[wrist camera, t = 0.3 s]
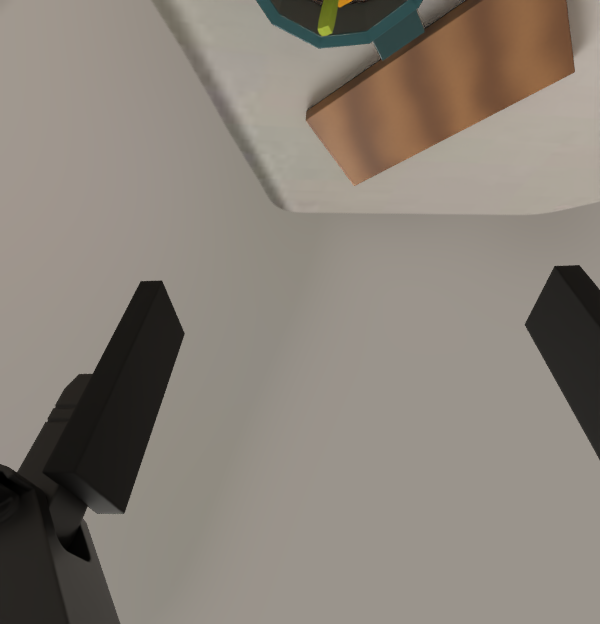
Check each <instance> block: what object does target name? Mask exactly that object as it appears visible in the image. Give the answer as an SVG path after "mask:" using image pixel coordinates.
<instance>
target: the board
mask: <svg viewBox="0 0 600 624" xmlns="http://www.w3.org/2000/svg"><path fill="white" fill-rule="evenodd" d="M574 72H575V68H574V60H573V52H572V43H571V35H570V27H569V19H568V11H567V2H566V0H466V1H465V2H463V3H462V4H461V5H459V6H458V7H456V8H455V9H453V10H452V11H450V12H449V13H448V14H446V15H445V16H443V17H442V18H440V19H439V20H437V21H436V22H435V23H433V24H432V25H430V26H429V27H427V28H426V29H425V32H424V33H423V34H421V35H420V36H418V37H417V38H415V39H414V40H412V41H411V42H410V43H408V44H407V45H405V46H404V47H402V48H401V49H399V50H398V51H396V52H395V53H394V54H392V55H391V56H389V57H388V58H386V59H385V60H383V61H382V59H381V60H380V61H378V62H377V63H375V64H374V65H373V66H371V67H370V68H368V69H367V70H365V71H364V72H362V73H361V74H360V75H358V76H357V77H355V78H354V79H352V80H351V81H349V82H348V83H347V84H345V85H344V86H342V87H341V88H339V89H338V90H336V91H335V92H334V93H332V94H331V95H329V96H328V97H326V98H325V99H323V100H322V101H321V102H319V103H318V104H316V105H315V106H313V107H312V108H310V109H309V110H308V111H307V112H306V121H307V123H308V124H309V125H310V127H311V128H312V129H313V131H314V132H315V134H316V135H317V136H318V138H319V139H320V140H321V142H322V143H323V144H324V146H325V147H326V148H327V150H328V151H329V153H330V154H331V155H332V157H333V158H334V159H335V161H336V162H337V163H338V165H339V166H340V167H341V169H342V170H343V171H344V173H345V174H346V176H347V177H348V178H349V180H350V181H351V182H352V184H353V185H354V186H355V185H357V184H359V183H361V182H363V181H365V180H367V179H369V178H371V177H373V176H375V175H377V174H378V173H380V172H382V171H384V170H386V169H388V168H390V167H392V166H394V165H396V164H398V163H400V162H402V161H404V160H406V159H408V158H409V157H411V156H413V155H415V154H417V153H419V152H421V151H423V150H425V149H427V148H429V147H431V146H433V145H435V144H437V143H438V142H440V141H442V140H444V139H446V138H448V137H450V136H452V135H454V134H456V133H458V132H460V131H462V130H464V129H466V128H468V127H469V126H471V125H473V124H475V123H477V122H479V121H481V120H483V119H485V118H487V117H489V116H491V115H493V114H495V113H497V112H499V111H500V110H502V109H504V108H506V107H508V106H510V105H512V104H514V103H516V102H518V101H520V100H522V99H524V98H526V97H528V96H529V95H531V94H533V93H535V92H537V91H539V90H541V89H543V88H545V87H547V86H549V85H551V84H553V83H555V82H557V81H559V80H560V79H562V78H564V77H566V76H568V75H570V74H572V73H574Z"/></svg>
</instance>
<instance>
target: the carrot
mask: <svg viewBox="0 0 600 624" xmlns="http://www.w3.org/2000/svg"><path fill="white" fill-rule="evenodd" d="M351 1H353V0H323V4H322V8H321V12H320V16H319V21H318V32H319V34H320V35H321V36H327V35H329V34H331V33H332V32H333V29H334V26H335V21H336V15H337V9H338V7H342V6H344V5H345V4H347V3H349V2H351Z"/></svg>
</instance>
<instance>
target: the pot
mask: <svg viewBox="0 0 600 624" xmlns="http://www.w3.org/2000/svg"><path fill="white" fill-rule="evenodd" d="M256 1H257V3H258V4H259V6H260V7H261V9H262V10H263V12H264V13H265V15H266V16H267V18H268V19H269V21H270V22H271V24H273V25H275V26H276V27H278V28H280V29H282V30H284V31H286V32H288V33H290V34H292V35H294V36H295V37H297V38H299V39H301V40H303V41H305V42H307V43H309V44H311V45H313V46H315V47H316V48H318V49H321V48H330V47H340V46H350V45H360V44H370V43H371V42H372V41H373V43H374V45H375V47H376V49H377V51H378V53H379V55H380V57H381V59H382V61H383V60H385V59H386V58H388V57H389V56H391V55H392V54H394V53H395V52H396V51H398V50H399V49H401V48H402V47H404V46H405V45H407V44H408V43H410V42H411V41H412V40H414V39H415V38H417V37H418V36H420V35H421V34H423V33H424V32H425V29H424V25H423V22H422V20H421V17H420V15H419V12H418V10H417V9H418V8H419V6H420V4H421V3H422V1H423V0H367V1H366V2H364V3H355V4H347V5H344V6H342V7H338V9H337V15H336V21H335V26H334V29H333V32H332V33H331V34H329V35H327V36H321V35H320V34H319V32H318V21H319V16H320V12H321V8H322V6H320V5H318V4H317V3H315V2H313V1H311V0H256Z"/></svg>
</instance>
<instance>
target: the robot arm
mask: <svg viewBox="0 0 600 624" xmlns="http://www.w3.org/2000/svg"><path fill="white" fill-rule="evenodd" d="M525 326H526V328H527V330H528V331H529V333H530V335H531V337H532V339H533V340H534V342H535V344H536V346H537V348H538V349H539V351H540V353H541V355H542V357H543V358H544V360H545V362H546V364H547V366H548V367H549V369H550V371H551V373H552V375H553V376H554V378H555V380H556V382H557V384H558V385H559V387H560V389H561V391H562V392H563V394H564V396H565V398H566V400H567V402H568V403H569V405H570V407H571V409H572V411H573V412H574V414H575V416H576V418H577V420H578V421H579V423H580V425H581V427H582V429H583V430H584V432H585V434H586V436H587V437H588V439H589V441H590V443H591V445H592V447H593V448H594V450H595V452H596V454H597V456H598V458H599V459H600V290H599V288H598V287H597V286H596V285H595V283H594V282H593V281H592V280H591V279H590V277H589V276H588V275H587V274H586V273H585V271H584V270H583V269H582V268H581V267H580V266H579V265H575V266H554V269H553V270H552V272H551V275H550V276H549V278H548V280H547V282H546V284H545V286H544V288H543V290H542V292H541V294H540V296H539V298H538V300H537V302H536V304H535V306H534V308H533V310H532V311H531V314H530V315H529V317H528V319H527V321H526V323H525ZM183 337H184V331H183V329H182V326H181V324H180V322H179V319H178V317H177V315H176V312H175V310H174V308H173V305H172V303H171V301H170V299H169V296H168V294H167V291H166V289H165V286H164V284H163V282H162V281H141V282H140V284H139V286H138V288H137V290H136V292H135V294H134V296H133V298H132V299H131V301H130V303H129V305H128V307H127V309H126V311H125V313H124V315H123V317H122V319H121V321H120V323H119V324H118V326H117V328H116V330H115V332H114V334H113V336H112V338H111V340H110V342H109V344H108V346H107V348H106V349H105V351H104V353H103V355H102V357H101V359H100V361H99V363H98V365H97V367H96V369H95V371H94V373H93V374H79V375H78V376H77V377H76V378H75V379H74V380H73V381H72V382H71V383H70V384H69V385H68V386H67V387H66V388H65V389H64V391H63V392H62V394H61V396H60V398H59V400H58V401H57V403H56V407H55V408H54V409H53V410H52V412H51V414H50V416H49V417H48V422H45V424H44V426H43V428H42V429H41V431H40V433H39V435H38V437H37V438H36V440H35V442H34V444H33V446H32V447H31V449H30V451H29V453H28V454H27V456H26V458H25V460H24V461H23V463H22V465H21V467H20V468H19V470H18V472H15V471H14V470H12V469H11V468H9V467H7V466H4V465H1V464H0V624H120V622H119V619H118V616H117V613H116V610H115V607H114V604H113V601H112V598H111V595H110V592H109V589H108V586H107V583H106V580H105V577H104V574H103V571H102V568H101V565H100V562H99V559H98V556H97V553H96V550H95V547H94V544H93V542H92V538H91V535H90V533H89V529H88V527H87V523H86V522H85V521H84V519H83V516H84V514H85V511H86V509H87V506H88V507H89V508H90V509H92V510H93V511H95V512H96V513H97V514H100V513H101V514H124V513H125V510H126V507H127V504H128V501H129V498H130V495H131V492H132V489H133V486H134V483H135V480H136V477H137V474H138V471H139V468H140V465H141V462H142V459H143V456H144V453H145V450H146V447H147V444H148V441H149V438H150V435H151V432H152V429H153V426H154V423H155V420H156V417H157V414H158V411H159V408H160V406H161V403H162V399H163V397H164V394H165V391H166V388H167V384H168V382H169V378H170V376H171V373H172V370H173V367H174V364H175V361H176V358H177V355H178V352H179V349H180V346H181V343H182V340H183Z"/></svg>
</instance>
